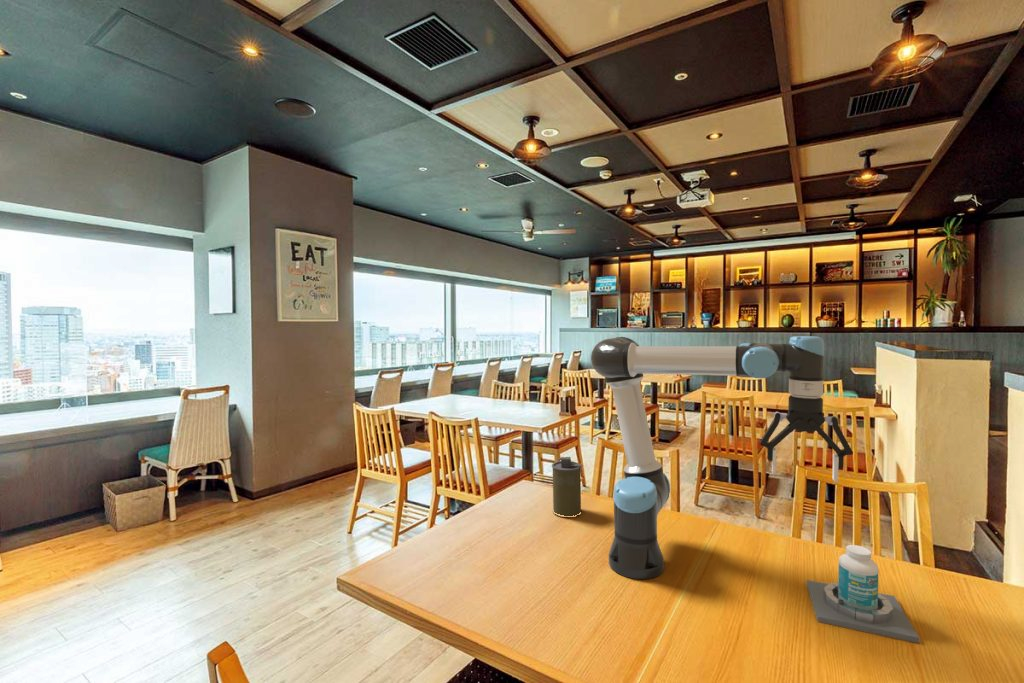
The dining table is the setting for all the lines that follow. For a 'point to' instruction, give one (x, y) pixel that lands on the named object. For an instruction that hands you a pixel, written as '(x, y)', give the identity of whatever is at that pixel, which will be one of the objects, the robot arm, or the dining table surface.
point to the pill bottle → (858, 578)
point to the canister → (566, 487)
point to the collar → (856, 613)
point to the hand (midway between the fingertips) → (803, 476)
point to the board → (894, 628)
